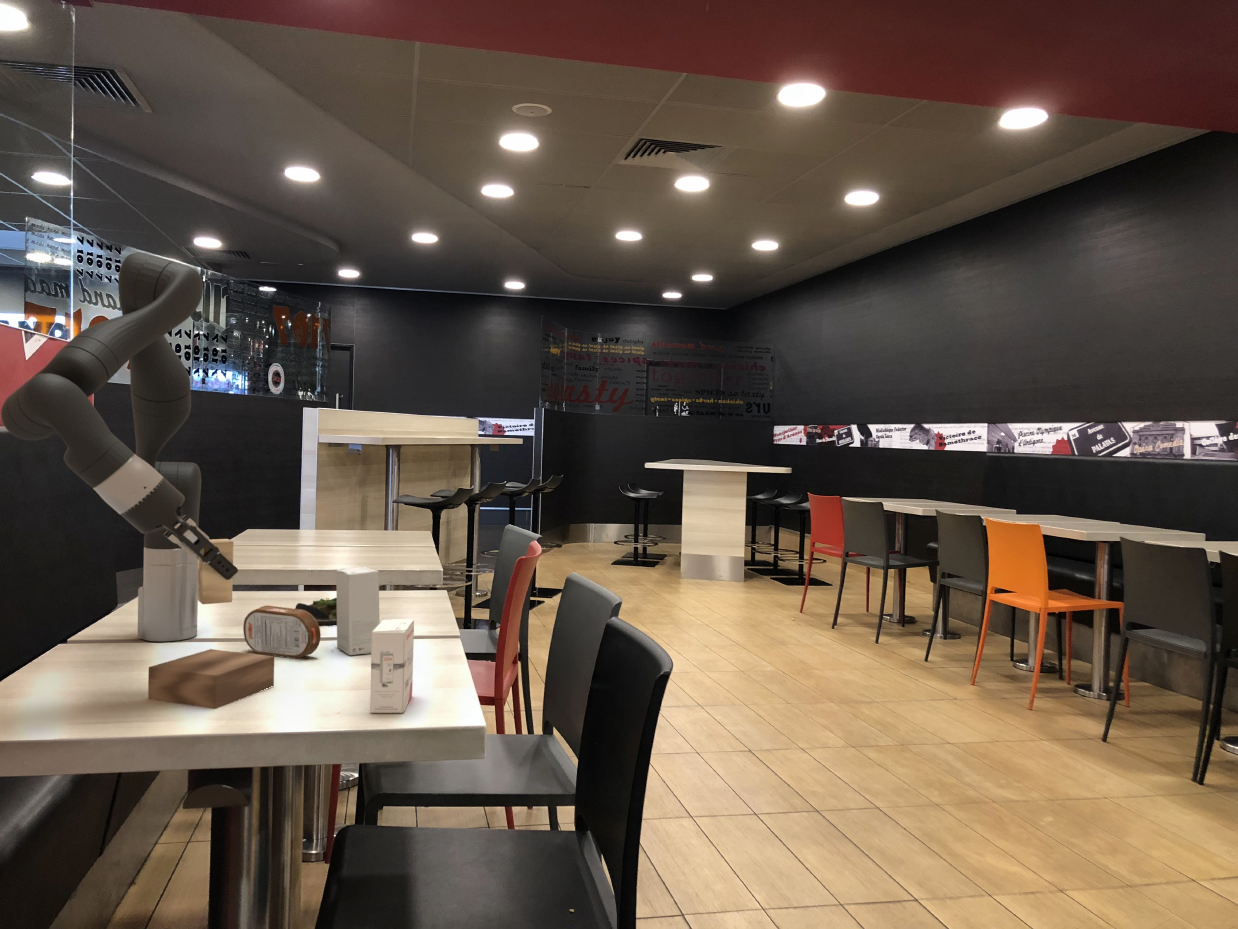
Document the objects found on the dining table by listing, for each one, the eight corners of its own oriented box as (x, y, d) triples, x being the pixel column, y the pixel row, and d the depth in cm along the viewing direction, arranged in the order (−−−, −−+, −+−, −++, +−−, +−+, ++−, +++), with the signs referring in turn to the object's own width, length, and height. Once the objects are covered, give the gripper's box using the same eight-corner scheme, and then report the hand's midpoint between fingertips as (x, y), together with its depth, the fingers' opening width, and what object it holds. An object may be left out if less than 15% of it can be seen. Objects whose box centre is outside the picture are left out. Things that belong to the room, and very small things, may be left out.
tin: (321, 658, 150) (322, 610, 149) (309, 662, 147) (310, 613, 146) (252, 649, 154) (253, 603, 154) (239, 653, 151) (240, 605, 151)
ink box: (380, 696, 128) (382, 617, 128) (413, 696, 128) (415, 617, 128) (368, 714, 119) (370, 630, 119) (404, 714, 120) (406, 630, 119)
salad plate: (290, 610, 192) (290, 590, 192) (372, 609, 196) (372, 589, 195) (274, 628, 173) (274, 606, 173) (365, 627, 177) (366, 605, 177)
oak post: (197, 599, 128) (199, 540, 127) (226, 597, 130) (227, 539, 130) (202, 604, 124) (203, 542, 124) (232, 602, 127) (233, 541, 126)
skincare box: (380, 653, 154) (382, 571, 153) (346, 657, 150) (348, 573, 150) (366, 643, 161) (368, 565, 160) (333, 647, 157) (335, 566, 157)
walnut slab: (148, 701, 123) (148, 667, 123) (210, 680, 135) (210, 649, 135) (216, 710, 120) (216, 675, 120) (273, 688, 131) (274, 656, 131)
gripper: (168, 477, 117) (260, 560, 124) (154, 472, 128) (238, 549, 135) (123, 516, 114) (220, 600, 121) (112, 508, 125) (201, 585, 133)
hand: (229, 572), depth 128 cm, fingers closed on oak post, 4 cm apart
